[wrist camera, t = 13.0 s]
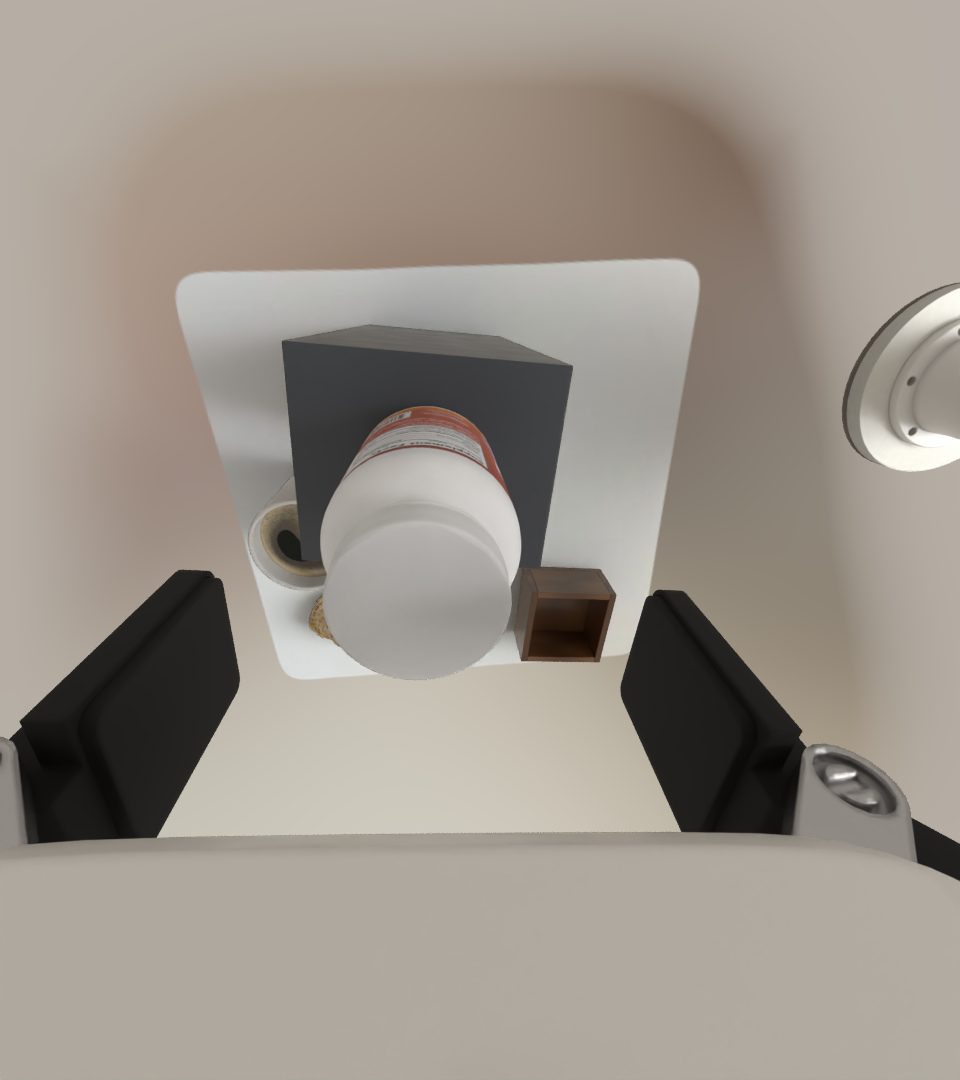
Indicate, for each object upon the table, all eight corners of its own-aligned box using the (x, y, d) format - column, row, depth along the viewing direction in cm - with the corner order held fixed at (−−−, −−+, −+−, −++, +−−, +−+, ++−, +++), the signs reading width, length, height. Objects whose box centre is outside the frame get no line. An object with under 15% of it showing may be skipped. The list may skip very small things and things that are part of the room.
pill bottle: (474, 544, 23) (500, 719, 13) (349, 516, 22) (275, 685, 12) (512, 423, 21) (580, 528, 11) (374, 384, 19) (306, 461, 9)
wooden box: (600, 569, 55) (616, 594, 50) (585, 632, 59) (599, 662, 54) (523, 566, 54) (531, 592, 49) (513, 631, 58) (520, 661, 53)
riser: (500, 336, 43) (573, 365, 20) (490, 442, 47) (540, 569, 24) (369, 324, 42) (281, 340, 18) (370, 434, 46) (301, 560, 23)
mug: (265, 485, 47) (225, 525, 38) (347, 448, 46) (326, 480, 37) (321, 568, 52) (297, 621, 43) (397, 536, 51) (389, 584, 42)
